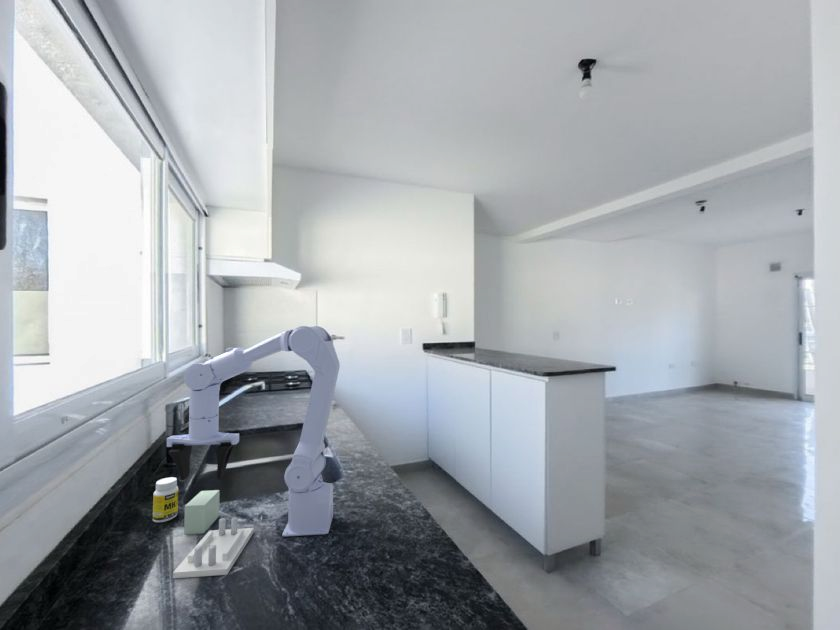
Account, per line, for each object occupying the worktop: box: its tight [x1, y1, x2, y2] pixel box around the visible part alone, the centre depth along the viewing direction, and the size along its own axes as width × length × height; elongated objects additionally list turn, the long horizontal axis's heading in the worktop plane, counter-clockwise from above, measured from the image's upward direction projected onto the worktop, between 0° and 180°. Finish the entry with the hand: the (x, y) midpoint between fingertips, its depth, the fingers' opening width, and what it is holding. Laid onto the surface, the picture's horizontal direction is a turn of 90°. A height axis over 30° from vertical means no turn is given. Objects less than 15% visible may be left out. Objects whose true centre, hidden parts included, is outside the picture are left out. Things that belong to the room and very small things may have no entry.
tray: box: [172, 516, 255, 579], centre depth 69 cm, size 9×13×4 cm
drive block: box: [183, 489, 221, 535], centre depth 79 cm, size 4×7×6 cm, turn 6°
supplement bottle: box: [152, 476, 179, 523], centre depth 82 cm, size 5×5×8 cm
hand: (203, 477), depth 79 cm, fingers open, 7 cm apart
